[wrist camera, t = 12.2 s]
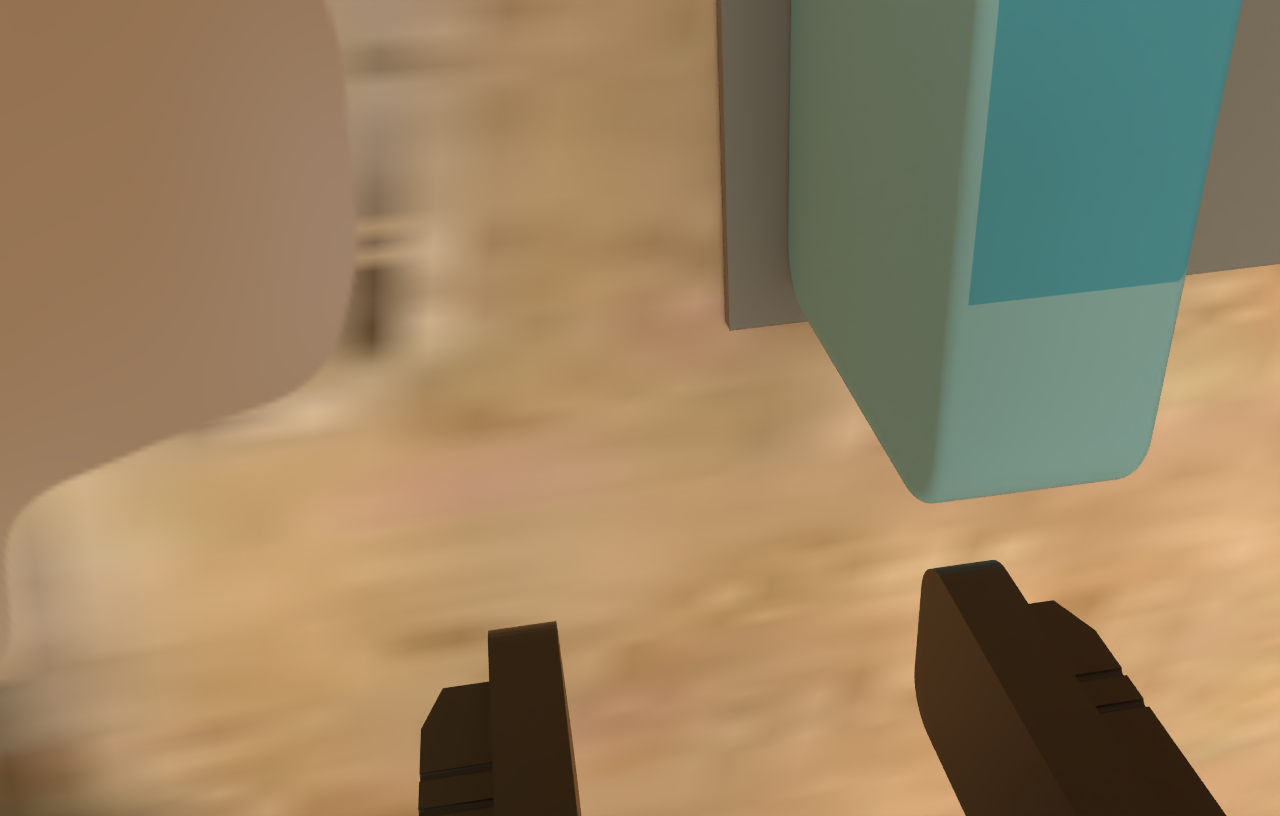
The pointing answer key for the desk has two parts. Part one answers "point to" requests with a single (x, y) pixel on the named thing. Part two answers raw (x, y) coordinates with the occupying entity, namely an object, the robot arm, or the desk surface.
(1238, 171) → the mat
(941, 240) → the data package
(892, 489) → the desk surface
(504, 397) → the desk surface
